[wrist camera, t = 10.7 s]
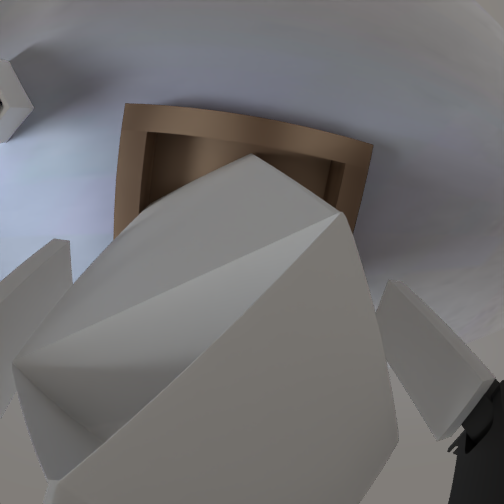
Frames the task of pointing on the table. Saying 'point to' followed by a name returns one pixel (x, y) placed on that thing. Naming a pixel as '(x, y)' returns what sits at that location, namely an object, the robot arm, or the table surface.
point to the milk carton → (214, 356)
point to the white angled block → (11, 102)
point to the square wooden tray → (229, 156)
